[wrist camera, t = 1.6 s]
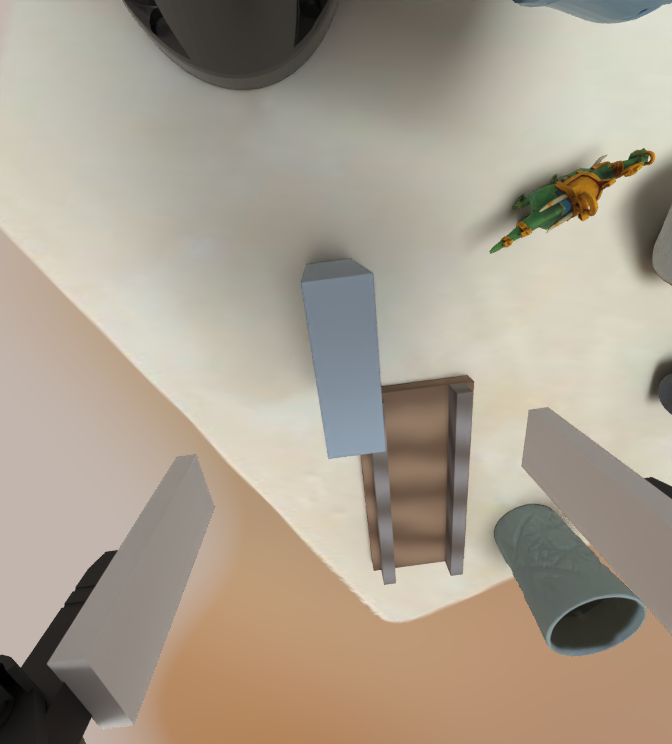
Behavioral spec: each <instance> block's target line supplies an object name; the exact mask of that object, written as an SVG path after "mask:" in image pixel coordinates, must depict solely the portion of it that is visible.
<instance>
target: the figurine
mask: <svg viewBox="0 0 672 744" xmlns="http://www.w3.org/2000/svg"><path fill="white" fill-rule="evenodd" d="M606 156H607V155H605V156H602V157H600V158H599V159H598V160H597V161H596V162H595V164H594V165H593V166H592V167H591V168H590V169H583V168H580V169H578V170H576V171H574V172H572V173H571V174H569V175H566V176H563V177H560V178H558V179H555V178H556V177H557V174H556V175H555V176H554V178H553V179H552V182H551V183H552V184H550V185H546V186H544V187H542V188H540V189H537V190H535V191H533V192H532V193H531V194H530V195H528V197H525V198H523V197H524V194H523V195H521V196H520V198H519V199H518V201H517V205H516V206H513V207H512V209H515V208H517V207H519V208H523V207H525V206H527V205H530V206H531V208H532V209H533V211H532V212H530V213H529V214H527V216H525V217H524V219H523V220H522V221H520V222H519V223H518V224H517V225H516V228H515V229H514V230H513V231H512V232H511V233H509V234H508V235H507V236H506V237H503V238H502V239H501V241H500V242H499V243H497V244H496V245H495V246H494V247H493V248H492V249H491V250H490V251H489V252H490V254H491V253H494V252H496V251H498V250H500V249H501V248H503V247H509V246H510V245H511V244H512V242H513V241H515V240H516V239H518V238H520V237H525V236H527V235H530V233H532V231H533V230H534V229H536V228H538V227H540V228H543V229H545V230H546V229H548V230H547V232H549V231H550V230H551V229H553V228H554V227H556V226H558V225H560V224H562V223H563V222H565V221H566V220H567V221H568V220H570V219H571V218H573V217H575V216H577V215H578V218H579V219H580V220H581V221H584V220H586V219H588V218H589V216H594V215H595V214H596V212H597V209H598V204H597V200H598V199H599V198H600V197H601V194H602V191H603V189H605V188H606V187H609V186H611V185H612V184H613V183H615V182H616V180H615V179H617V178H619V177H621V176H623V175H624V176H625V177H627V176H632V175H634V174H635V173H636V172H637V171H638V170H640V169H641V168H642V166H645V165H650V164H652V163H653V162H654V160H655V154H654V153H653V152H652V151H646V150H645V149H644V148H643V149H642V150H636V151H634V152H633V153H631V154H630V156H629V159H628V160H626V161H617V162H615V163H610V162H609V161H607V162H603V163H600V162H601V160H602V159H603V158H604V157H606ZM649 156H650V157H651V160H650V161H649V162H648V157H649ZM522 198H523V199H522ZM588 206H590V210H589V209H588Z"/></svg>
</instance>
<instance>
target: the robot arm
mask: <svg viewBox="0 0 672 744" xmlns="http://www.w3.org/2000/svg"><path fill="white" fill-rule="evenodd" d="M122 1H123V3H124V5H125V6H126V7H127V9H128V10H129V12H130V13H131V15H132V16H133V17H134V18H135V20H136V21H137V22H138V24H139V25H140V26H141V27H142V28H143V30H144V31H145V32H146V33H147V34H148V36H149V37H150V38H151V39H152V40H153V41H154V43H155V44H156V45H157V46H158V47H159V48H160V49H161V50H162V51H163V52H164V53H165V54H166V55H167V56H168V57H169V58H170V59H171V60H172V61H173V62H175V63H176V64H177V65H179V66H180V67H181V68H182V69H184V70H185V71H187V72H188V73H190V74H192V75H193V76H195V77H197V78H199V79H201V80H203V81H205V82H208V83H210V84H213V85H216V86H220V87H224V88H229V89H239V90H247V89H256V88H261V87H265V86H269V85H271V84H274V83H276V82H278V81H280V80H282V79H284V78H286V77H287V76H289V75H290V74H292V73H293V72H295V71H296V70H297V69H298V68H299V67H300V66H302V65H303V64H304V63H305V62H306V61H307V60H308V58H309V57H310V56H311V55H312V54H313V52H314V51H315V50H316V48H317V47H318V45H319V44H320V42H321V41H322V39H323V37H324V36H325V34H326V32H327V30H328V28H329V26H330V23H331V21H332V18H333V16H334V13H335V10H336V7H337V4H338V0H122ZM513 1H514V2H515V3H518V4H519V5H521V6H526V7H537V6H547V7H550V8H554V9H557V10H560V11H563V12H565V13H568V14H571V15H573V16H576V17H579V18H582V19H584V20H587V21H591V22H596V23H607V24H610V23H620V22H625V21H630V20H634V19H637V18H639V17H642V16H644V15H646V14H648V13H650V12H652V11H654V10H656V9H657V8H659V7H660V6H662V5H665V4H670V3H672V0H513ZM522 467H523V468H524V470H525V471H526V472H527V473H528V474H529V475H530V476H531V477H532V479H533V480H534V481H535V482H536V483H537V484H538V485H539V486H540V488H541V489H542V490H543V491H544V492H545V493H546V494H547V495H548V497H549V498H550V499H551V500H552V501H553V502H554V503H555V504H556V506H557V507H558V508H559V509H560V510H561V511H562V512H563V513H564V515H565V516H566V517H567V518H568V519H569V520H570V521H571V522H572V524H573V525H574V526H575V527H576V528H577V529H578V530H579V531H580V533H581V534H582V535H583V536H584V537H585V538H586V539H587V540H588V542H589V543H590V544H591V545H592V546H593V547H594V548H595V549H596V551H597V552H598V553H599V554H600V555H601V556H602V557H603V558H604V560H605V561H606V562H607V563H608V564H609V565H610V566H611V567H612V568H613V570H614V571H615V572H616V573H617V574H618V575H619V576H620V578H621V579H622V580H623V581H624V582H625V583H626V584H627V585H628V586H629V588H630V589H631V590H632V591H633V592H634V593H635V594H636V596H637V597H638V598H639V599H640V600H641V601H642V602H643V603H644V605H645V606H646V607H647V608H648V609H649V610H650V611H651V612H652V614H653V615H654V616H655V617H656V618H657V619H658V620H659V621H660V623H661V624H662V625H663V626H664V627H665V628H666V629H667V630H668V632H669V633H670V634H671V635H672V486H670V485H667V484H665V483H663V482H661V481H659V480H657V479H655V478H653V477H650V478H643V477H641V476H640V475H639V474H637V473H636V472H635V471H633V470H632V469H630V468H629V467H628V466H626V465H625V464H624V463H622V462H621V461H620V460H618V459H617V458H616V457H614V456H613V455H612V454H610V453H609V452H608V451H606V450H605V449H604V448H602V447H601V446H600V445H598V444H597V443H595V442H594V441H593V440H591V439H590V438H589V437H587V436H586V435H585V434H583V433H582V432H581V431H579V430H578V429H577V428H575V427H574V426H573V425H571V424H570V423H569V422H567V421H566V420H565V419H563V418H562V417H560V416H559V415H558V414H556V413H555V412H554V411H552V410H551V409H550V408H548V407H547V408H540V409H532V410H529V413H528V421H527V428H526V436H525V443H524V451H523V458H522ZM214 508H215V506H214V504H213V501H212V498H211V495H210V492H209V489H208V486H207V483H206V481H205V478H204V475H203V472H202V469H201V467H200V464H199V461H198V458H197V455H196V454H194V455H186V456H179V457H176V459H175V460H174V462H173V463H172V465H171V467H170V468H169V470H168V471H167V473H166V475H165V476H164V478H163V479H162V481H161V483H160V484H159V486H158V487H157V489H156V491H155V492H154V494H153V495H152V497H151V498H150V500H149V502H148V503H147V505H146V507H145V508H144V510H143V511H142V513H141V514H140V516H139V518H138V519H137V521H136V522H135V524H134V526H133V527H132V529H131V530H130V532H129V534H128V535H127V537H126V538H125V540H124V542H123V543H122V545H121V546H120V548H119V550H116V551H108V552H105V554H103V555H102V556H101V557H100V558H99V559H98V560H97V561H96V562H95V563H94V564H93V565H92V566H91V567H90V568H89V569H88V570H87V571H86V573H85V575H84V576H83V577H82V579H81V580H80V582H79V583H78V585H77V586H76V589H75V591H74V592H72V593H71V595H70V596H69V598H68V599H67V601H66V602H65V606H64V608H61V610H60V611H59V613H58V614H57V615H56V617H55V618H54V620H53V621H52V623H51V624H50V626H49V628H48V629H47V630H46V632H45V633H44V635H43V636H42V637H41V639H40V640H39V642H38V643H37V645H36V646H35V648H34V649H33V651H32V652H31V654H30V655H29V657H28V658H27V659H26V661H25V662H24V664H23V665H22V667H21V668H20V667H19V666H18V664H17V663H16V662H15V661H14V660H13V659H12V658H11V657H9V656H5V655H0V744H86V743H85V741H84V738H83V734H84V732H85V730H86V728H87V726H88V724H89V721H90V719H91V717H92V718H93V720H94V721H95V722H96V723H97V724H98V726H99V727H100V728H101V729H108V728H116V727H123V726H130V725H134V724H135V721H136V719H137V716H138V713H139V710H140V708H141V705H142V702H143V700H144V697H145V694H146V691H147V689H148V686H149V684H150V681H151V678H152V675H153V673H154V670H155V667H156V665H157V662H158V659H159V657H160V654H161V651H162V648H163V646H164V643H165V640H166V638H167V635H168V632H169V630H170V627H171V624H172V621H173V618H174V616H175V613H176V611H177V608H178V605H179V603H180V600H181V597H182V594H183V592H184V589H185V586H186V584H187V581H188V578H189V576H190V573H191V570H192V567H193V565H194V562H195V559H196V556H197V554H198V551H199V548H200V546H201V543H202V541H203V538H204V535H205V532H206V530H207V527H208V524H209V521H210V519H211V516H212V513H213V511H214Z"/></svg>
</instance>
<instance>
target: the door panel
mask: <svg viewBox="0 0 672 744" xmlns="http://www.w3.org/2000/svg"><path fill="white" fill-rule="evenodd" d="M301 286H302V293H303V299H304V305H305V312H306V318H307V325H308V331H309V338H310V344H311V350H312V357H313V363H314V370H315V376H316V383H317V389H318V396H319V402H320V408H321V415H322V421H323V428H324V434H325V441H326V447H327V453H328V459H332V458H339V457H347V456H355V455H362V454H370V453H377V452H385V438H384V423H383V409H382V394H381V380H380V365H379V350H378V336H377V321H376V307H375V292H374V278H373V273H372V272H370V271H369V270H368V269H366V268H365V267H363V266H362V265H360V264H359V263H357V262H356V261H354V260H353V259H352V258H350V259H342V260H335V261H327V262H319V263H311V264H306V268H305V271H304V274H303V278H302V281H301Z"/></svg>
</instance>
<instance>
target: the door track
mask: <svg viewBox="0 0 672 744" xmlns="http://www.w3.org/2000/svg"><path fill="white" fill-rule="evenodd" d="M473 391H474V381H473V380H472V379H471V378H470V377H469V376H468V375H467V376H460V377H452V378H444V379H437V380H429V381H421V382H414V383H406V384H398V385H390V386H383V387H381V394H382V409H383V423H384V438H385V452H377V453H370V454H362V455H361V461H362V471H363V480H364V490H365V499H366V509H367V518H368V527H369V537H370V546H371V556H372V563H373V569H374V571H375V570H381V571H382V576H383V581H384V585H386V584H394V583H396V576H395V568H398V567H405V566H413V565H420V564H428V563H435V562H443V561H445V562H446V565H447V567H448V570H449V572H450V575H451V576H453V575H461V574H463V559H464V547H465V530H466V512H467V495H468V478H469V460H470V443H471V426H472V408H473Z"/></svg>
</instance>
